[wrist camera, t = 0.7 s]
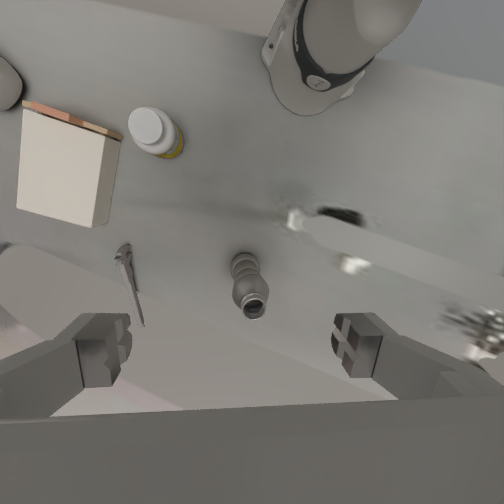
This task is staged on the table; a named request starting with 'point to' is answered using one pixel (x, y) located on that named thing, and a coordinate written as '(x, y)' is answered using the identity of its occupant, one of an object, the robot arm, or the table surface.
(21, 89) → the spread jar
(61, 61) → the table surface
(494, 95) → the table surface
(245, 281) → the plastic bottle
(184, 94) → the table surface
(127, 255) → the caliper
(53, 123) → the sleeve
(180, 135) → the supplement bottle
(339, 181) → the table surface
